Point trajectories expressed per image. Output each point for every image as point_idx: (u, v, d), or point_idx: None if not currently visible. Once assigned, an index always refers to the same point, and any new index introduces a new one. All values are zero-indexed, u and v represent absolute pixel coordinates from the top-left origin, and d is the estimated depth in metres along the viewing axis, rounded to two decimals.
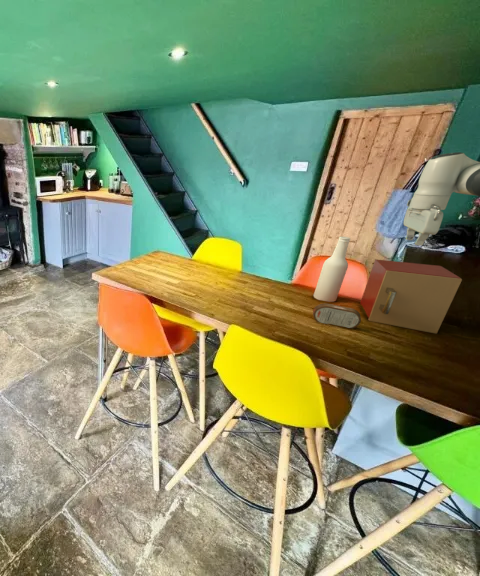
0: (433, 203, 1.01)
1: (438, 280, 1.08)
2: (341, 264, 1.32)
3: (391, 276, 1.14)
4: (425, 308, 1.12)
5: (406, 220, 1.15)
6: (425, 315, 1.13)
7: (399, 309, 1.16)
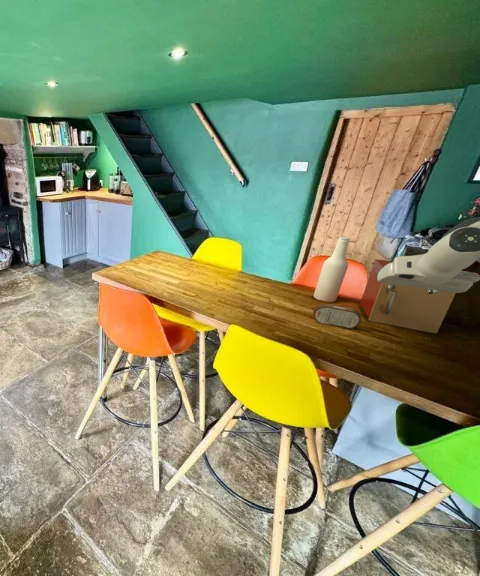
0: None
1: None
2: (341, 264, 1.32)
3: None
4: (425, 308, 1.12)
5: (388, 281, 0.97)
6: (425, 315, 1.13)
7: (399, 309, 1.16)
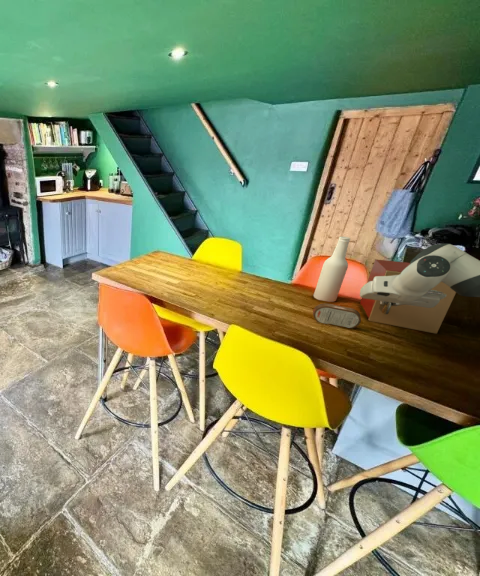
0: None
1: None
2: (341, 264, 1.32)
3: None
4: (425, 308, 1.12)
5: (369, 297, 1.11)
6: (425, 315, 1.13)
7: (399, 309, 1.16)
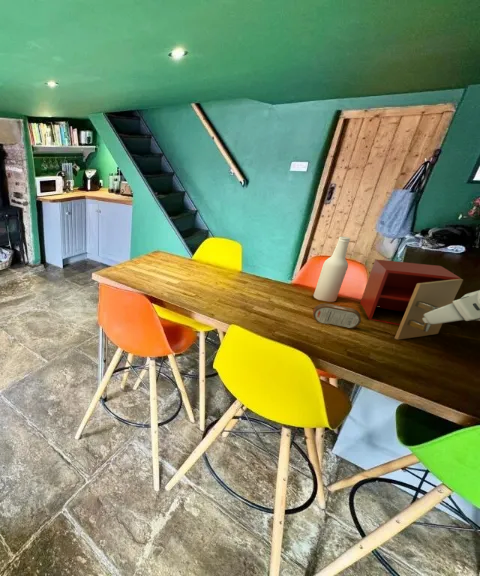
0: None
1: (450, 284, 1.04)
2: (341, 264, 1.32)
3: (422, 289, 1.02)
4: None
5: None
6: None
7: (420, 320, 1.08)
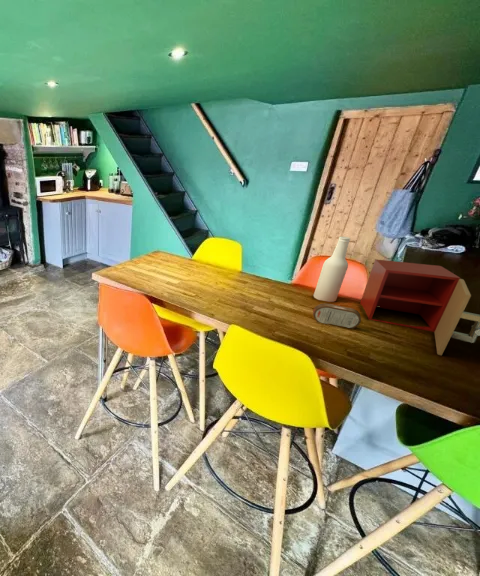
0: None
1: None
2: (341, 264, 1.32)
3: None
4: None
5: None
6: None
7: None
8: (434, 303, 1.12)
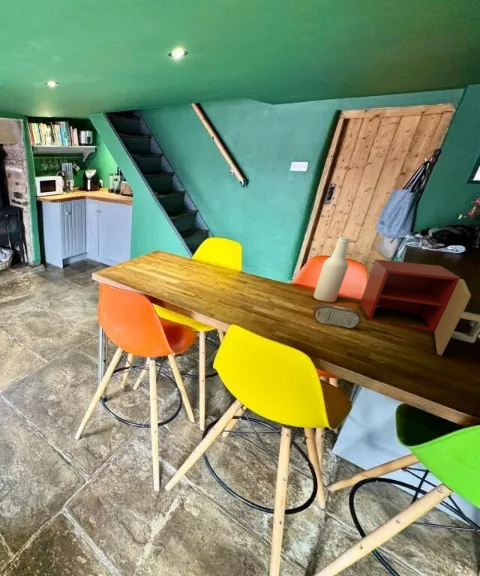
0: None
1: None
2: (341, 264, 1.32)
3: None
4: None
5: None
6: None
7: None
8: (434, 303, 1.12)
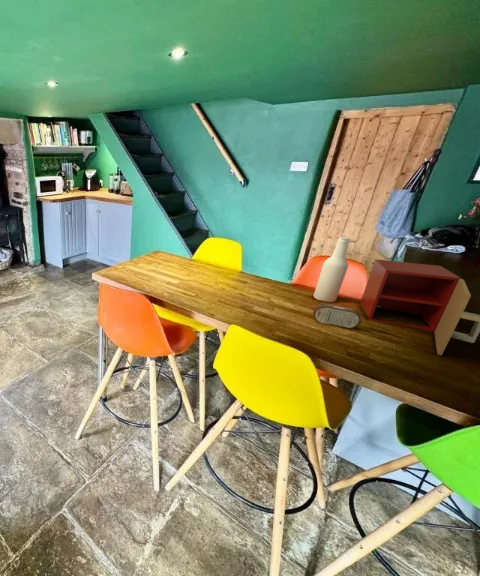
0: None
1: None
2: (341, 264, 1.32)
3: None
4: None
5: None
6: None
7: None
8: (434, 303, 1.12)
